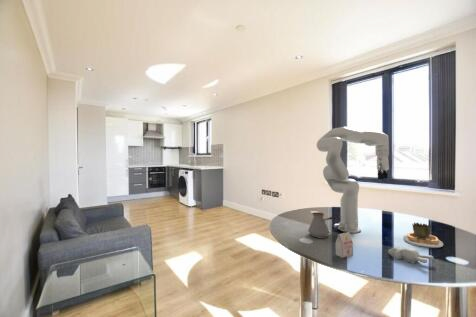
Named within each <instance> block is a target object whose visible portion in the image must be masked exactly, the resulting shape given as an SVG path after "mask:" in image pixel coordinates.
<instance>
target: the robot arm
mask: <svg viewBox="0 0 476 317" xmlns="http://www.w3.org/2000/svg"><path fill="white" fill-rule="evenodd" d="M389 141H390V140H389V135H388V134H386V133H384V132H381V131H376V130H375V131H374V130H366V129H365V130H361V129H356V128H352V127H347V126H342V127H335V128H332V129H330V130H329V131H328V132H326V133H325V134H324V135H323V136H321V137H320V138H319V139H318V140H317V142H316V148H317V149H318V151H319V152H325V153H326V152H327V154H326V157H325V163H326V166H324V168H323V170H322V174H323V177H324V179H325V181H326V182H327V184H328V186H329V187H330V189H331V190H332V191H333V192H335V193H338V194H342V196H341V198H340V202H339V203H340V215H341V217H340V221H339V222H338V223H334V224H333V227H334V228H337V229H338V230H340V232H341V231H342V232H343V233H347V232H350V234H353V233H354V234H358V233H361V232H362V228H361V227H359V210H358V206H359V205H358V203H359V202H358V198H359V197H358V196H359V192H360V184H359V182H358V181H356V180H355V179H353V178H349V176H350V173H349V170H348V169H347V166H346V165H345V163H344V161H343V159H342V158H341V152H342V148H343V143H344V142H348V143H354V144H364V145H365V146H368V147H375V148H374V150H375V156H376V170H377V180H384V179H388V171H389V170H390V164H389V156H390V148H389V147H390V144H389V143H390V142H389ZM342 217H343V219H342Z"/></svg>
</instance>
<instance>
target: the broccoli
mask: <svg viewBox="0 0 476 317" xmlns="http://www.w3.org/2000/svg"><path fill="white" fill-rule="evenodd" d="M431 229H432V228H431V225H430V224H427V223H423V224H422V223H419V222H413V223H412V230H413V231H412V232H414V234H415V235H416V236H418V237H417V238H418V239H424V240H426V238H427V237H429V235H431V234H430V233H431Z"/></svg>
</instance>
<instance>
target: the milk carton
mask: <svg viewBox="0 0 476 317" xmlns="http://www.w3.org/2000/svg"><path fill="white" fill-rule="evenodd" d="M335 255H336V256H338V257H340V258H342V259H344V258H347V257H351V256H354V241H353V239H352V235H351V233H350V232H343V233H338V234H337V238H336V239H335Z"/></svg>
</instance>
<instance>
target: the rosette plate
mask: <svg viewBox="0 0 476 317" xmlns="http://www.w3.org/2000/svg"><path fill="white" fill-rule="evenodd" d="M417 237H418V236H416V235H415V234H414V231H412V232H407V233H406V234H405V235H403V236H402V238H403V241H404V242H405V243H408V244H410V245H412V246H417V247H419V248H425V249H427V248H428V249H441V247H442V248H443V247H444V243H443V241H441V240H440V239H439V238H438V237H437V236H435V235H432V234H430V235H429V237H427V238H426V240H424V239H418V238H417Z"/></svg>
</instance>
